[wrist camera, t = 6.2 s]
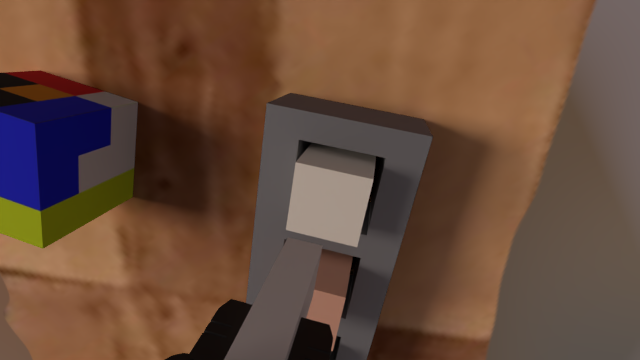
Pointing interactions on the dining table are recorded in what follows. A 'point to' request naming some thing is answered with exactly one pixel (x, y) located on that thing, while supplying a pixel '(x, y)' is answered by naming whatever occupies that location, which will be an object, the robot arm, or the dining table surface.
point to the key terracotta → (330, 289)
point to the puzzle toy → (61, 155)
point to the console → (382, 212)
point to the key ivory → (330, 193)
